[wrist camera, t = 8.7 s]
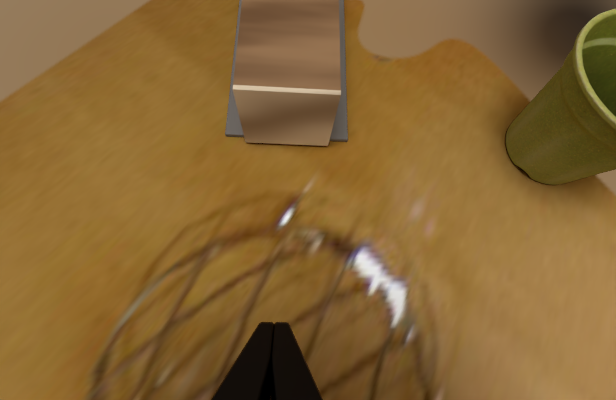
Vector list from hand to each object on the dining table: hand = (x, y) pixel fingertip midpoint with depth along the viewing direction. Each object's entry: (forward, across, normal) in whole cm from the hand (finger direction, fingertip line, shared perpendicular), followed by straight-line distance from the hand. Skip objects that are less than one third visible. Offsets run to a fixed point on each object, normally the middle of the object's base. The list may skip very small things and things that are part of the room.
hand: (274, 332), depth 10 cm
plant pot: (+17, -20, -1) cm, 26 cm away
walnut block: (+14, 0, -3) cm, 14 cm away
